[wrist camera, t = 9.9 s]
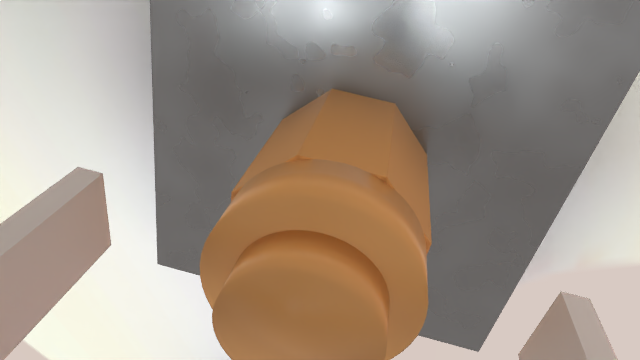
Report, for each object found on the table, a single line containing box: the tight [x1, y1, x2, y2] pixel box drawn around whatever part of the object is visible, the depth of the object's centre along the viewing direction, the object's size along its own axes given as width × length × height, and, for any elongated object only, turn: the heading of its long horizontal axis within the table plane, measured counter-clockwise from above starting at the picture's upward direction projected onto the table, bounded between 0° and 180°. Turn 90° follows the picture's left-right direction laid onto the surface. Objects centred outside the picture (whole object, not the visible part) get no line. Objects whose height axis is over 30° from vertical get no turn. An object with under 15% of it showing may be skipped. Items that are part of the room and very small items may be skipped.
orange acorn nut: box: [200, 88, 432, 360], centre depth 15 cm, size 6×6×10 cm
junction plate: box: [150, 0, 640, 351], centre depth 18 cm, size 19×18×7 cm
